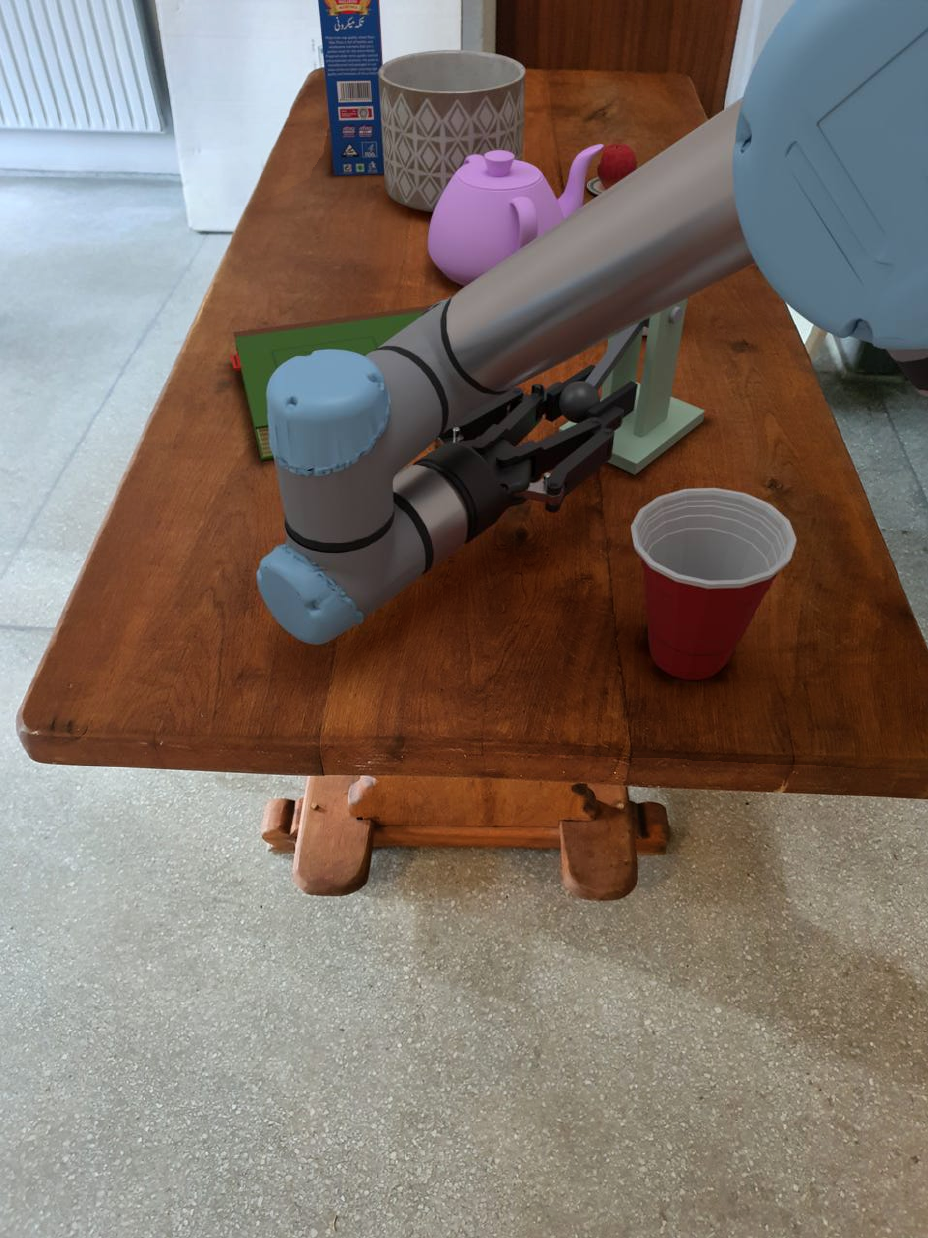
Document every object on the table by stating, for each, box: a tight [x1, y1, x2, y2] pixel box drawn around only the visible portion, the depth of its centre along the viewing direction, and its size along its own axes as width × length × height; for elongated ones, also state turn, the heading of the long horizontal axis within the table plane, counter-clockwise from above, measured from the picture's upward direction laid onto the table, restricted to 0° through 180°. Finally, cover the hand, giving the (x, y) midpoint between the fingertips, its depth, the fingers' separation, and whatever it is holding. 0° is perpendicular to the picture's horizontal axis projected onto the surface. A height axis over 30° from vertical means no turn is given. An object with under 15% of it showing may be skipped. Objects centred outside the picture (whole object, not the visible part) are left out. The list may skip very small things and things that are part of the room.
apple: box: [586, 142, 638, 196], centre depth 135 cm, size 8×8×6 cm
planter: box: [378, 49, 526, 213], centre depth 130 cm, size 19×19×16 cm
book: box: [230, 304, 435, 462], centre depth 97 cm, size 25×19×4 cm
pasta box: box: [317, 0, 384, 176], centre depth 142 cm, size 28×8×28 cm, turn 4°
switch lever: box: [559, 317, 650, 423], centre depth 83 cm, size 14×4×4 cm, turn 139°
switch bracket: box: [558, 297, 706, 476], centre depth 88 cm, size 12×9×15 cm
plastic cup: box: [630, 487, 798, 681], centre depth 67 cm, size 11×11×12 cm
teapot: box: [427, 143, 605, 287], centre depth 114 cm, size 22×22×14 cm
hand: (612, 387), depth 86 cm, fingers closed on switch lever, 4 cm apart
